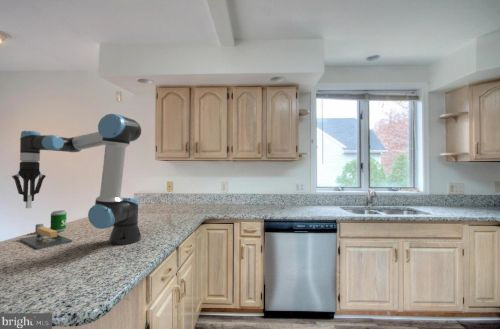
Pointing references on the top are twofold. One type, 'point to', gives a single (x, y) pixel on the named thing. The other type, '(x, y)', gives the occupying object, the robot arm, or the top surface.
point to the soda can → (58, 220)
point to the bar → (45, 231)
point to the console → (44, 241)
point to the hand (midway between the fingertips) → (28, 207)
